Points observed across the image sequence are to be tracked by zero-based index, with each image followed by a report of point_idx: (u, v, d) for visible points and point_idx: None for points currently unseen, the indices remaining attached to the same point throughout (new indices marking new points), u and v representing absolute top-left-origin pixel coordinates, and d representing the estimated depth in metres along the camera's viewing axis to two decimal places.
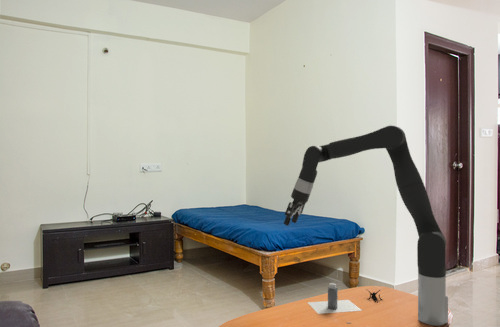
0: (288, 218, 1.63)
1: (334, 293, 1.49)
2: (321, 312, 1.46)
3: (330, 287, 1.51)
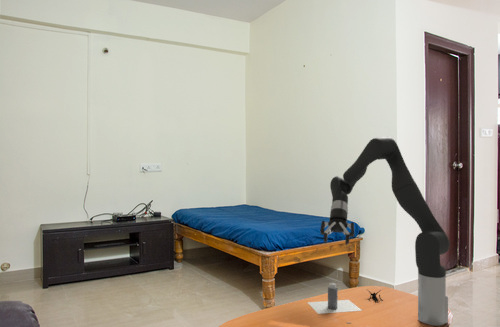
0: (324, 235, 1.66)
1: (334, 293, 1.49)
2: (321, 312, 1.46)
3: (330, 287, 1.51)
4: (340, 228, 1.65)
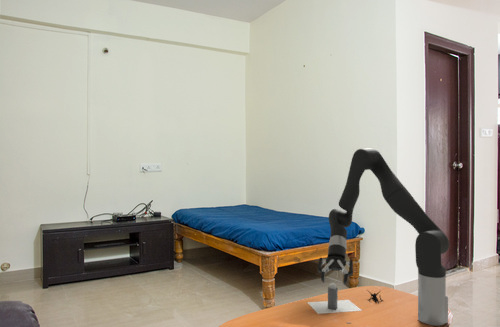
0: (321, 273, 1.59)
1: (334, 293, 1.49)
2: (321, 312, 1.46)
3: (330, 287, 1.51)
4: (338, 266, 1.58)
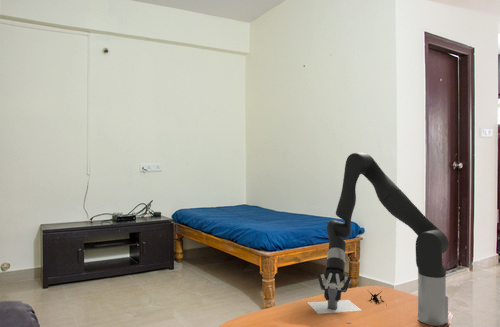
0: (324, 290, 1.52)
1: (334, 293, 1.48)
2: (321, 312, 1.46)
3: (330, 287, 1.51)
4: (335, 280, 1.53)
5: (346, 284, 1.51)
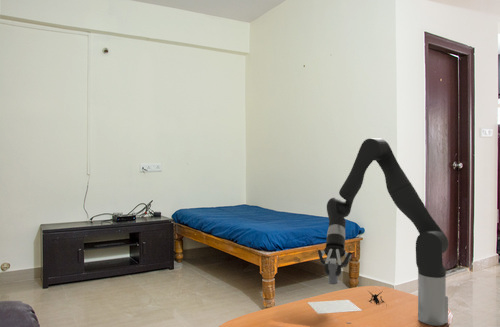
0: (325, 266, 1.52)
1: (334, 268, 1.49)
2: (321, 312, 1.46)
3: (330, 262, 1.51)
4: (335, 255, 1.53)
5: (346, 259, 1.51)
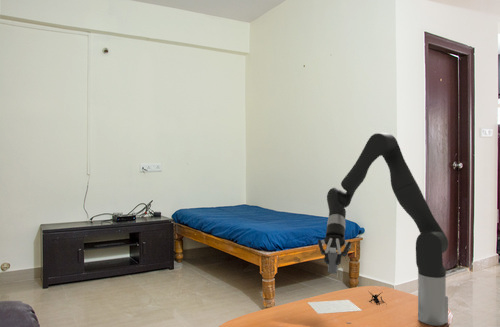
0: None
1: (334, 257, 1.49)
2: (321, 312, 1.46)
3: (330, 251, 1.51)
4: (335, 245, 1.53)
5: (346, 248, 1.51)
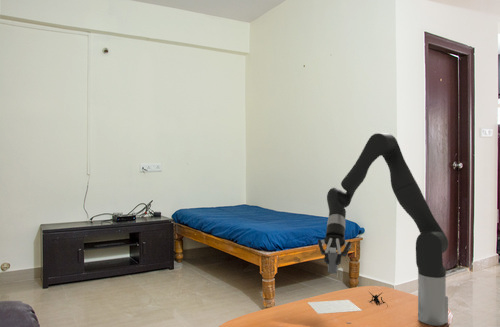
0: None
1: (334, 257, 1.49)
2: (321, 312, 1.46)
3: (330, 251, 1.51)
4: (335, 245, 1.53)
5: (346, 248, 1.51)
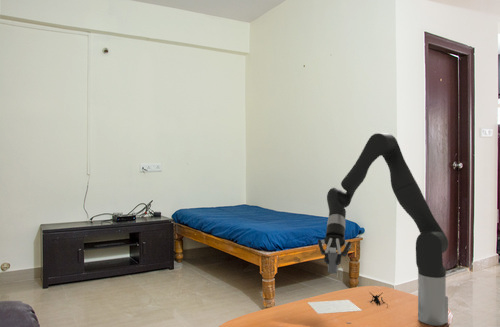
0: None
1: (334, 257, 1.49)
2: (321, 312, 1.46)
3: (330, 251, 1.51)
4: (335, 245, 1.53)
5: (346, 248, 1.51)
